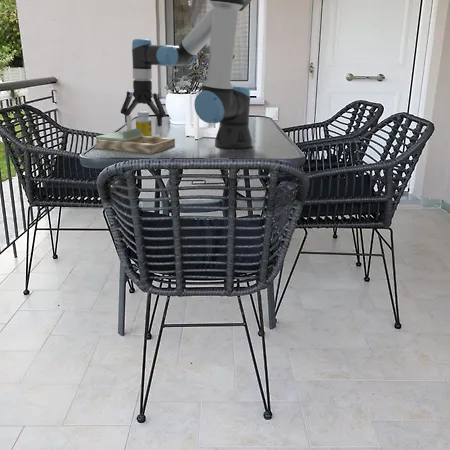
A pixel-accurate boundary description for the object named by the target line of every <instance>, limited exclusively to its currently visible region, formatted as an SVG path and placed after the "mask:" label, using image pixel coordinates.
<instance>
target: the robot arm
mask: <svg viewBox="0 0 450 450" xmlns="http://www.w3.org/2000/svg"><path fill="white" fill-rule="evenodd" d="M251 2H252V0H209V3H210V5H211V9H210V10H209V11H208V12H207V13H206V14H205V15H204V16H203V17H202V18H201V20H200V21H199V22H198V23H197V24H196V25H195V26H194V27H193V29H191V31H190V32H189V33H188V34H187V35H186V36H185V37H184V39H182V40H181V41H180V43H178V45H171V44H170V45H168V44H160V45H159V44H152V40H151V39H145V38H134V39H132V41H131V42H132V43H131V44H132V45H131V55H132V79H133V81H132V88H133V91H132V90H127V91H126V94H125V95H126V96H125V100H124V101H123V102H124V103H123V104H122V107H121V110H120V114H122V115H124V123H125V124H126V131H128V130H132V129H133V123H132V122H133V119H132V118H133V117H132V115H131V113H132V112H133V110H134V109H135V108H136V107H137V105H138V104H143V105H144V104H145V105H146V104H147V106H148V107H149V108H150V110H151V111H152V113H153V114H154V115H155V119H154V120H155V121H154V123H155V126H154V127H155V131H154V132H155V133H154V134H155V135H160V134H161V127H162V125H163V118H165V117H167V113H166V111H165V109H164V106H163V104H162V101H161V99H160V94H159V92H155V93H153V82H152V79H153V78H152V76H153V75H152V71H153V69H152V68H153V67H152V66H162V67H170V66H171V67H174V66H175V67H178V66H180V67H187V66H191V65H193V64H194V63H195V60H196V56H197V54H198V53H199V52H200V51H201V50H202V49H203V48H204V46H206V44H208V43H209V52H208V62H207V72H206V73H207V75H206V80H205V81H203V82H202V83H201V91H200V92H199V93H198V94H197V95H196V96H195V99H194V105H193V106H194V110H195V114H196V115H197V116H198V117H199V119H200V120H201V121H202V122H205V123H207V124H219V127H218V130H217V133H216V136H215V139H214V146H215V147H218V148H223V149H247V147H249V148H251V147H250V146H252V147H253V139H252V135H251V132H250V128H249V124H250V123H249V122H250V104H251V92H250V89H249V88H247V87H243V86H236V85H235V86H234V85H233V84H232V83H231V77H232V67H233V60H234V51H235V50H234V49H235V43H236V42H235V41H236V32H237V24H238V23H237V22H238V16H239V15H238V13H239V12H242V11H244V10H245V9H246V7H248V5H249V4H250V3H251ZM132 98H133V100H132ZM130 103H131V104H130Z"/></svg>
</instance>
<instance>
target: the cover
mask: <svg viewBox="0 0 450 450" xmlns="http://www.w3.org/2000/svg"><path fill="white" fill-rule="evenodd" d="M139 137H143V134H141V129H139V128H136V127H135V128H132V130H128V131H127V130H124V131H123V132H121V131H114V132H110V133H105V134H101V135H97V136H95V139H96V140H98V139H105V140H115V141H128V140H132V139H135V138H139Z"/></svg>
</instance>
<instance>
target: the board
mask: <svg viewBox="0 0 450 450" xmlns="http://www.w3.org/2000/svg"><path fill="white" fill-rule="evenodd" d="M95 141H96V148H97V149H103V148H106V149H105V150H112V149H114V151H121V152H130V153H131V152H133V153H142V154H150V155H151V154H152V155H153V154H156V153H159V152H162V151H165V150H168V149H171V148H174V147H175V146H176V138H173V137H172V138H171V137H164V136H163V137H160V136H153V135H152V136H143V137H139V138H135V139H132V140H128V141H115V140H105V139H96V140H95Z"/></svg>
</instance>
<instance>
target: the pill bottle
mask: <svg viewBox="0 0 450 450" xmlns="http://www.w3.org/2000/svg"><path fill="white" fill-rule="evenodd" d="M149 116H150V112H149V111H147V110H146V111H144V110H143V111H137V118H135V129H136V128H139V129H141V134H143V136H152V137H153V133H152V132H153V131H152V118H150V117H149Z"/></svg>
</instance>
